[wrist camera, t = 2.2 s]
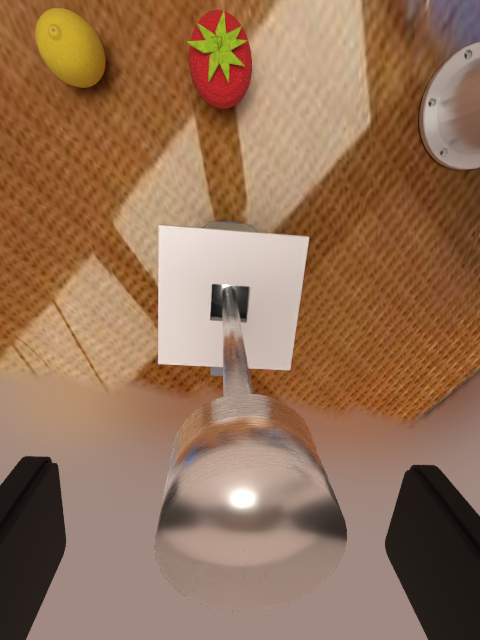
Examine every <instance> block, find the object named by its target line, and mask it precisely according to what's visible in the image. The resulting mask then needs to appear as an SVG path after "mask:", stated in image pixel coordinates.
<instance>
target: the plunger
mask: <svg viewBox="0 0 480 640" xmlns="http://www.w3.org/2000/svg"><path fill="white" fill-rule="evenodd" d="M248 293H249V287H248V286H234V285H219V284H212V296H211V314H210V317H223V388H224V397H221V398H218V399H215V400H213V401H210V402H209V403H207V404H205V405H203V406H201V407H200V408H198V409H197V410H196V411H194V412H193V413H192V414H191V415H190V416H189V417H188V418H187V419H186V420H185V422H184V423H183V424H182V426H181V427H180V429H179V431H178V433H177V436H176V438H175V441H174V445H173V450H172V455H171V460H170V465H169V470H168V475H167V481H166V485H165V490H164V495H163V500H162V505H161V511H160V516H159V521H158V526H157V531H156V536H155V545H154V548H155V557H156V560H157V564H158V566H159V568H160V570H161V572H162V574H163V575H164V577H165V578H166V580H167V581H168V582H169V583H170V584H171V585H172V586H173V587H174V588H175V589H176V590H177V591H179V592H180V593H181V594H182V595H184V596H186V597H187V598H189V599H191V600H193V601H195V602H197V603H200V604H202V605H206V606H208V607H212V608H216V609H221V610H228V611H258V610H265V609H270V608H274V607H279V606H282V605H285V604H288V603H290V602H293V601H295V600H297V599H300V598H301V597H303V596H305V595H307V594H309V593H310V592H312V591H313V590H315V589H316V588H317V587H319V585H321V584H322V583H323V582H324V581H326V580H327V578H328V577H329V576H330V575H331V574H332V573H333V572H334V570H335V569H336V567H337V566H338V564H339V562H340V560H341V558H342V556H343V553H344V550H345V547H346V541H347V529H346V524H345V520H344V517H343V515H342V512H341V510H340V507H339V504H338V502H337V499H336V497H335V495H334V492H333V489H332V487H331V484H330V482H329V479H328V476H327V474H326V471H325V469H324V466H323V464H322V461H321V459H320V456H319V454H318V451H317V449H316V446H315V443H314V441H313V438H312V436H311V433H310V431H309V428H308V427H307V425H306V423H305V421H304V420H303V419H302V417H301V416H300V415H299V414H298V413H297V412H296V411H295V410H294V409H293V408H291V407H290V406H288V405H287V404H285V403H283V402H281V401H279V400H277V399H274V398H271V397H268V396H264V395H259V394H253V393H252V387H251V381H250V375H249V369H248V363H247V357H246V351H245V345H244V339H243V333H242V327H241V321H240V318H242V319H246V314H247V303H248Z"/></svg>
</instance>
